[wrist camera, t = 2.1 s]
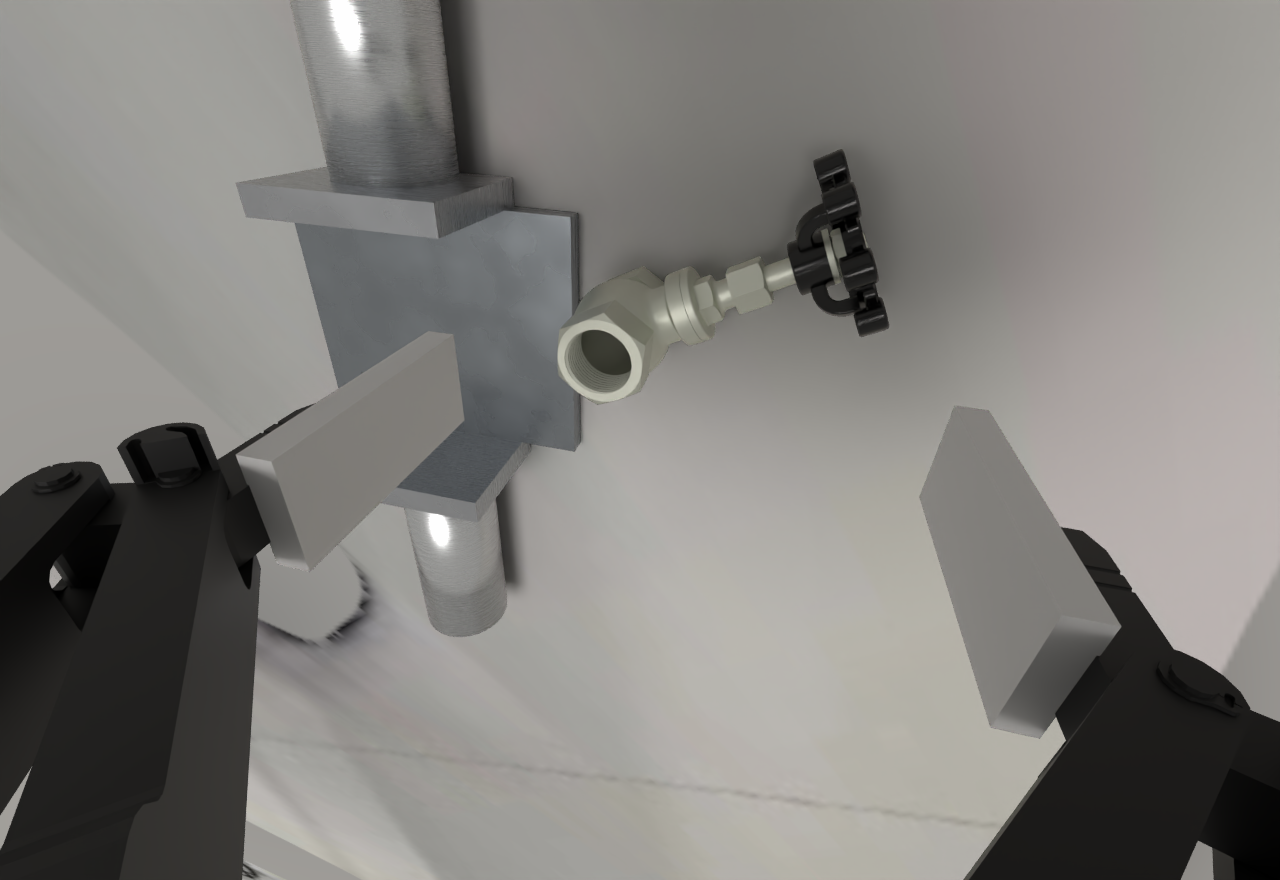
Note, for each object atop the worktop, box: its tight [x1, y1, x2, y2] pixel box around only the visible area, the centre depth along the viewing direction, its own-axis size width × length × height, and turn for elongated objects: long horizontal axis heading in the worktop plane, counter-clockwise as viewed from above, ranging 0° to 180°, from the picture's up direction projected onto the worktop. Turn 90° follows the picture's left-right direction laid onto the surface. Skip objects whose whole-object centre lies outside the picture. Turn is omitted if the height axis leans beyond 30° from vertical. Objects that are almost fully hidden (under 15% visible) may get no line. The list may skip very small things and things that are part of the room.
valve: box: [558, 149, 889, 405], centre depth 23 cm, size 7×7×12 cm
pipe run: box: [236, 0, 580, 637], centre depth 27 cm, size 37×14×6 cm, turn 177°
